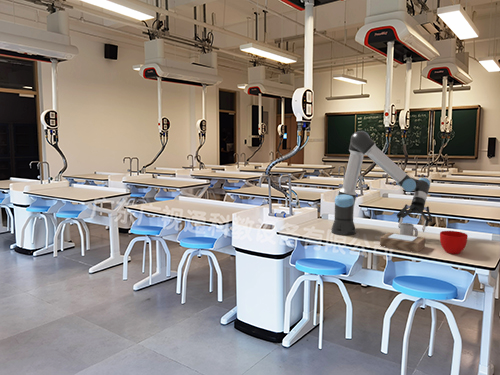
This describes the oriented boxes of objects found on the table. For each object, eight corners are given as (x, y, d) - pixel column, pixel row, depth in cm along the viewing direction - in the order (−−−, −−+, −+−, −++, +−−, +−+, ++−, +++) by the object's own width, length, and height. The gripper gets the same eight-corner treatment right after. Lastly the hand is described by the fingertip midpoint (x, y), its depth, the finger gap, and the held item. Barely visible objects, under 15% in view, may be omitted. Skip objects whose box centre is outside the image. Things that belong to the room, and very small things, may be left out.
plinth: (379, 246, 221) (380, 237, 221) (388, 240, 232) (388, 231, 232) (417, 252, 209) (418, 242, 209) (424, 246, 220) (425, 237, 220)
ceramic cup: (455, 246, 220) (456, 229, 218) (471, 256, 203) (472, 237, 202) (431, 246, 220) (432, 229, 219) (445, 255, 203) (446, 236, 202)
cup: (402, 236, 241) (402, 222, 240) (419, 239, 235) (420, 224, 233) (398, 239, 235) (398, 224, 234) (415, 242, 229) (416, 227, 228)
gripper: (441, 205, 239) (434, 235, 229) (399, 201, 254) (391, 229, 244) (440, 198, 234) (432, 228, 224) (397, 194, 249) (388, 222, 239)
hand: (411, 228), depth 234 cm, fingers open, 13 cm apart
